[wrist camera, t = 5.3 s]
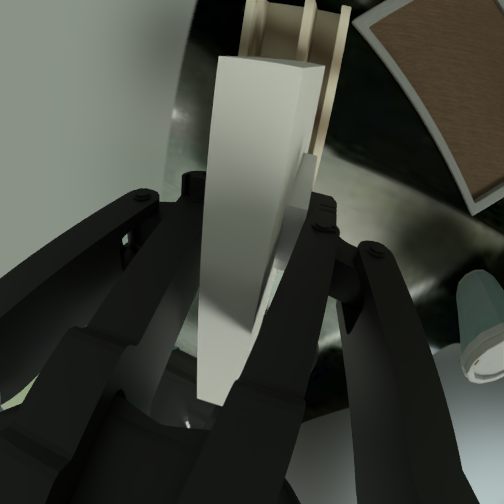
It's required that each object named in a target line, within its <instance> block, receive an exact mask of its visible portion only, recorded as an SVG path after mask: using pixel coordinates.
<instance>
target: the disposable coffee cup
mask: <svg viewBox="0 0 504 504" xmlns="http://www.w3.org/2000/svg"><path fill="white" fill-rule="evenodd" d="M456 299H457V307H458V317H459V327H460V340H461V358H460V361H459V362H460V364H461V367H462V370H463V372H464V374H465V376H466V377H468V379H469V381H471V382H475V383H486V382H490V381H494V380H497V379H499V378H501V377H503V376H504V290H503V289H502V288H501V286H500V285H499V283H498V282H497V281H496V279H495V278H494V277H493V275H491V274H489V273H488V272H486V271H485V270H473V271H471V272H469V273H467V274H465V276H464V277H463V278H462V279H461V280H460V281H459V283H458V287H457V292H456Z"/></svg>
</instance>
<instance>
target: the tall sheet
mask: <svg viewBox="0 0 504 504" xmlns="http://www.w3.org/2000/svg"><path fill="white" fill-rule="evenodd" d="M324 70H325V66H324V65H319V64H314V63H309V62H303V61H295V60H285V59H273V58H260V57H240V56H219V59H218V66H217V74H216V83H215V91H214V100H213V109H212V119H211V129H210V139H209V150H208V161H207V173H206V185H205V198H204V212H203V228H202V244H201V263H200V285H199V311H198V350H197V399H200V400H204V401H207V402H210V403H213V404H217V405H220V406H223V404H224V402H225V400H226V397H227V395H228V393H229V391H230V389H231V387H232V385H233V383H234V382H235V380H238V378H239V377H240V375H241V373H242V370H243V368H244V366H245V364H246V361H247V359H248V357H249V354H250V352H251V350H252V347H253V345H254V343H255V340H256V338H257V336H258V333H259V330H260V327H261V323H262V320H263V317H264V313H265V310H266V307H267V303H268V300H269V297H270V293H271V290H272V286H273V283H274V280H275V276H276V273H277V269H276V268H273V265H274V261H275V256H276V252H277V247H278V242H279V238H280V233H281V229H282V224H283V219H284V215H285V210H286V205H287V202H288V199H289V196H290V193H291V190H292V187H293V184H294V181H295V178H296V175H297V172H298V169H299V166H300V163H301V160H302V156H303V153H308V149H309V144H310V140H311V135H312V130H313V125H314V120H315V116H316V111H317V106H318V101H319V96H320V91H321V86H322V81H323V75H324Z"/></svg>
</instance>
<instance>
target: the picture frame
mask: <svg viewBox="0 0 504 504" xmlns="http://www.w3.org/2000/svg"><path fill="white" fill-rule="evenodd" d="M352 24H353V26H354V27H355V28H356V29H357V30H358V32H359V33H360V34H361V35H362V36H363V38H364V39H365V40H366V41H367V42H368V44H369V45H370V46H371V47H372V49H373V50H374V51H375V53H376V54H377V55H378V56H379V58H380V59H381V60H382V62H383V63H384V64H385V66H386V67H387V68H388V70H389V71H390V73H391V74H392V75H393V77H394V78H395V80H396V81H397V82H398V84H399V85H400V87H401V88H402V90H403V91H404V93H405V94H406V96H407V97H408V99H409V100H410V102H411V103H412V105H413V106H414V108H415V110H416V111H417V113H418V114H419V116H420V118H421V119H422V121H423V123H424V124H425V126H426V128H427V129H428V131H429V133H430V134H431V136H432V138H433V140H434V142H435V143H436V145H437V147H438V149H439V151H440V152H441V154H442V156H443V158H444V160H445V162H446V164H447V166H448V168H449V170H450V172H451V174H452V176H453V178H454V180H455V182H456V184H457V186H458V188H459V190H460V193H461V195H462V197H463V199H464V201H465V204H466V206H467V208H468V210H469V212H470V214H471V215H472V216H473V215H475V214H477V213H478V212H480V211H482V210H483V209H485V208H487V207H488V206H490V205H491V204H493V203H495V202H496V201H498V200H500V199H501V198H503V197H504V0H385V1H383V2H381V3H380V4H378V5H376V6H375V7H373V8H371V9H370V10H368V11H367V12H365V13H363V14H362V15H360V16H359V17H357V18H355V19H354V20H353V21H352Z"/></svg>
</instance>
